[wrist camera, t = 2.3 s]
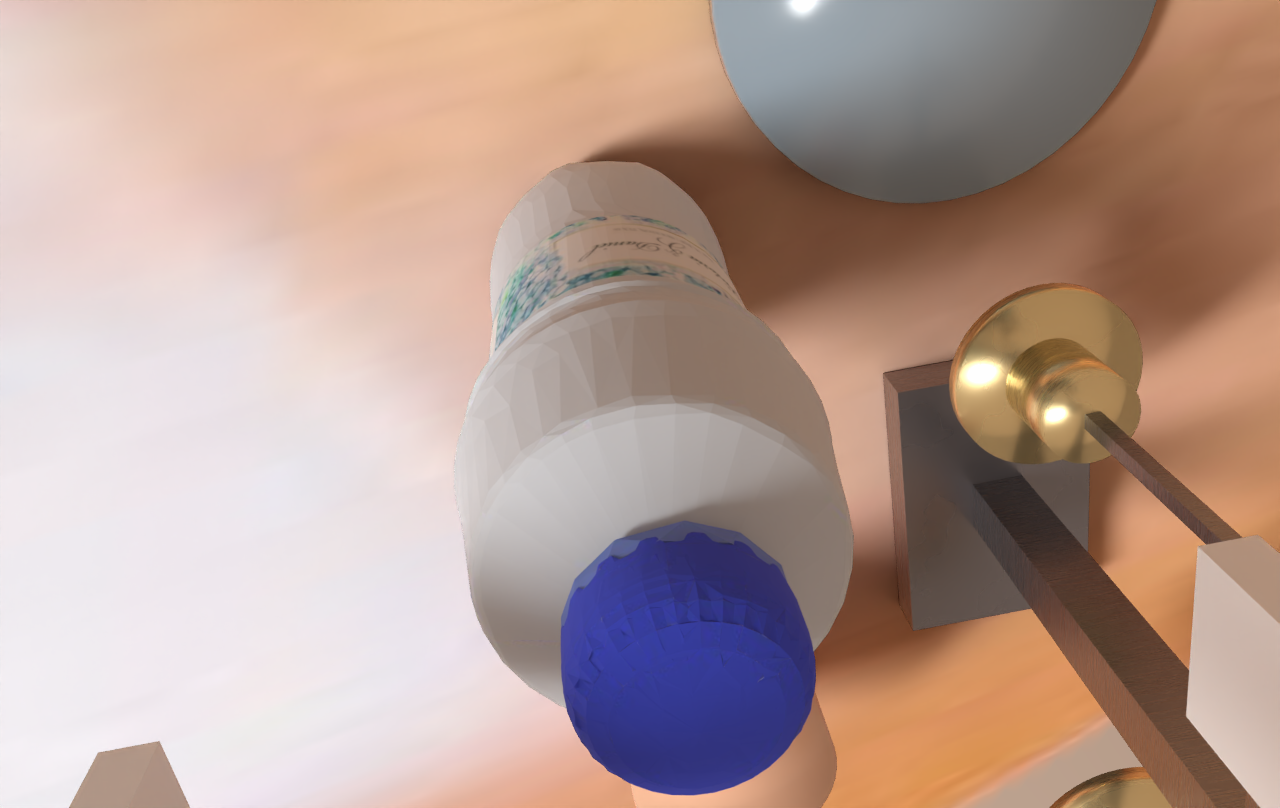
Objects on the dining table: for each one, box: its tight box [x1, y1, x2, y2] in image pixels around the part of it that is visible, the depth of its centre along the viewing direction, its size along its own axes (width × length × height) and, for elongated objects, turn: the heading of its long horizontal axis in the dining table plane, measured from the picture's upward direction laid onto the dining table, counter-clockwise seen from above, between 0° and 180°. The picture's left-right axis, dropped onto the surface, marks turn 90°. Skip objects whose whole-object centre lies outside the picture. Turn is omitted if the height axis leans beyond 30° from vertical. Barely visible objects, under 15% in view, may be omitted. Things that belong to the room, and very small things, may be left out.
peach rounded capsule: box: [631, 691, 837, 808], centre depth 34 cm, size 6×6×7 cm
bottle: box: [454, 161, 854, 795], centre depth 22 cm, size 7×7×20 cm
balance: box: [883, 283, 1260, 808], centre depth 27 cm, size 17×6×18 cm, turn 9°
